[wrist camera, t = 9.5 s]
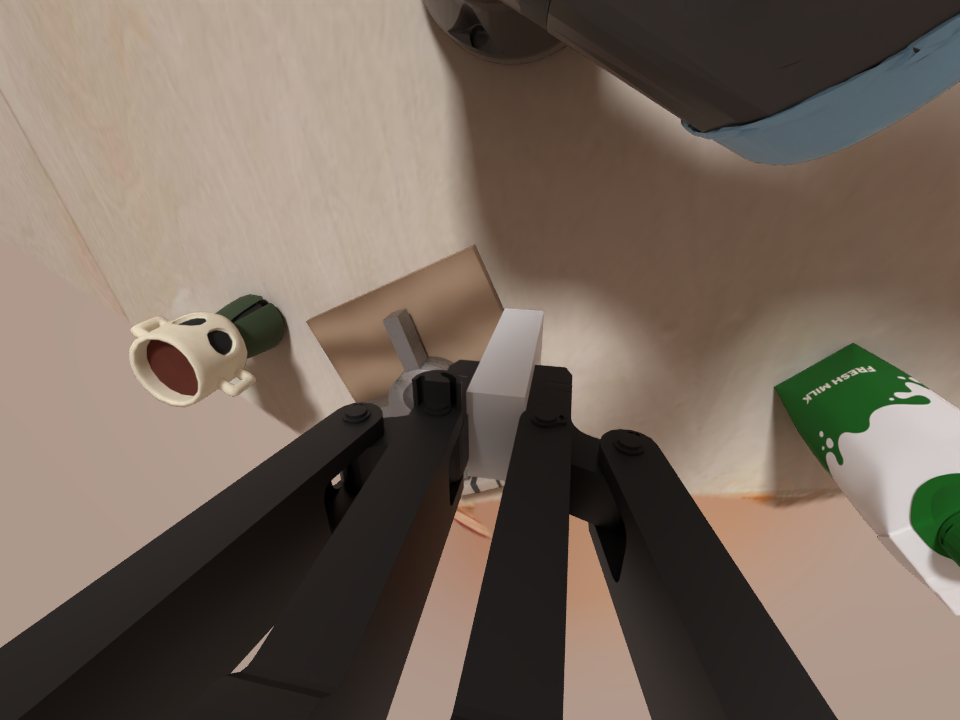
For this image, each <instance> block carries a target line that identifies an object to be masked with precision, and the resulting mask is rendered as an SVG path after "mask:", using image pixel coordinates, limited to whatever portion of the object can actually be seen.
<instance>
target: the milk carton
mask: <svg viewBox="0 0 960 720" xmlns="http://www.w3.org/2000/svg"><path fill="white" fill-rule="evenodd" d="M774 388H775V389H776V391H777V393H778V395H779V397H780V399H781V401H782V402H783V404H784V406H785V408H786V410H787V412H788V414H789V416H790V417H791V419H792V421H793V423H794V425H795V427H796V428H797V430H798V432H799V433H800V435H801V436H802V438H803V439H804V441H805V442H806V444H807V445H808V446H809V448H810V449H811V451H812V452H813V454H814V455H815V456H816V458H817V459H818V460H819V462H820V463H821V464H822V465H823V467H824V468H825V469H826V471H827V472H828V473H829V475H830V476H831V477H832V478H833V480H834V481H835V482H836V484H837V485H838V486H839V488H840V489H841V490H842V491H843V493H844V494H845V495H846V497H847V498H848V499H849V501H850V502H851V503H852V504H853V506H854V507H855V508H856V510H857V511H858V512H859V514H860V515H861V516H862V517H863V519H864V520H865V521H866V522H867V523H868V524H869V526H870V527H871V528H872V529H873V530H874V531H875V532H876V534H877V535H878V536H879V537H878V536H877V538H878V539H879V540H880V541H881V543H882V544H883V545H884V546H885V547H886V548H887V550H888V551H889V552H890V553H891V554H892V555H893V556H894V557H895V558H896V559H897V560H898V561H899V562H900V563H901V564H902V565H903V566H904V567H905V568H906V569H907V570H908V571H909V572H910V573H912V574H913V575H914V576H915V577H916V578H918V579H919V580H920V581H921V582H922V583H923V584H925V585H926V586H927V587H928V588H930V589H931V590H932V591H933V592H934V593H935V594H936V596H938V598H939V599H940V600H941V601H942V602H943V603H944V604H945V605H946V606H947V607H948V608H949V609H950V610H951V611H952V612H953V613H954V614H955V615H960V410H959V409H958V408H956V407H955V406H953V405H952V404H950V403H949V402H947V401H946V400H945V399H943V398H942V397H940V396H939V395H937V394H936V393H934V392H933V391H931V390H930V389H928V388H927V387H926V386H924V385H923V384H921V383H920V382H918V381H917V380H915V379H914V378H912V377H911V376H909V375H908V374H906V373H905V372H903V371H901V370H900V369H898V368H896V367H895V366H893V365H891V364H889V363H888V362H886V361H884V360H882V359H881V358H879V357H877V356H875V355H874V354H872V353H870V352H868V351H867V350H865V349H863V348H861V347H860V346H858V345H856V344H855V343H852V344H850V345H849V346H847V347H845V348H843V349H841V350H840V351H838V352H836V353H834V354H832V355H831V356H829V357H827V358H825V359H823V360H822V361H820V362H818V363H816V364H814V365H813V366H811V367H809V368H807V369H806V370H804V371H802V372H800V373H798V374H797V375H795V376H793V377H791V378H789V379H788V380H786V381H784V382H782V383H781V384H779V385H777V386H775V387H774Z"/></svg>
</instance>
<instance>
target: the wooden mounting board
mask: <svg viewBox="0 0 960 720" xmlns="http://www.w3.org/2000/svg"><path fill="white" fill-rule="evenodd" d="M405 308H406V309H407V311H408V313H409V316H410V318H411V321H412V323H413V325H414V328H415V330H416V332H417V335H418V337H419V339H420V342H421V344H422V347H423V349H424V351H425V354H426V356H436V357H441V358H445V359H447V360H449V361H452V362H453V363H455V362H457V361H458V360H471V361H481V359H482V357H483V354H484V352H485V350H486V348H487V346H488V344H489V342H490V339H491V337H492V335H493V333H494V331H495V329H496V326H497V324H498V322H499V320H500V318H501V316H502V314H503V311H504V308H503V306H502V304H501V301H500V299H499V297H498V295H497V293H496V290H495V288H494V286H493V284H492V281H491V279H490V277H489V275H488V273H487V270H486V268H485V266H484V264H483V261H482V259H481V257H480V255H479V253H478V250H477V248H476V246H475V245H473V246H471V247H468V248H466V249H464V250H462V251H460V252H457V253H455V254H453V255H451V256H448V257H446V258H444V259H442V260H439V261H437V262H435V263H433V264H431V265H428V266H426V267H424V268H422V269H419V270H417V271H415V272H413V273H411V274H408V275H406V276H404V277H402V278H399V279H397V280H395V281H393V282H390V283H388V284H386V285H384V286H382V287H379V288H377V289H375V290H373V291H370V292H368V293H366V294H364V295H362V296H359V297H357V298H355V299H353V300H350V301H348V302H346V303H344V304H341V305H339V306H337V307H335V308H333V309H330V310H328V311H326V312H324V313H321V314H319V315H317V316H315V317H313V318H311V319H309V320H308V321H306V322H307V324H308V326H309V327H310V329H311V330H312V332H313V334H314V335H315V337H316V339H317V340H318V342H319V343H320V345H321V347H322V348H323V350H324V351H325V353H326V355H327V356H328V358H329V360H330V361H331V363H332V364H333V366H334V368H335V369H336V371H337V373H338V374H339V376H340V377H341V379H342V381H343V382H344V384H345V385H346V387H347V389H348V390H349V392H350V394H351V395H352V397H353V398H354V400H355V402H356V403H358V402H359V403H360V402H366V401H371V400H375V399H380V398H384V397H388V396H389V392H390V389H391V387H392V385H393V384H394V382H395V381H396V380H397V378H398V377H399V376H400V375H401V373H402V372H403V371H404V368H403V366H402V364H401V361H400V359H399V357H398V355H397V352H396V350H395V348H394V346H393V344H392V341H391V339H390V337H389V335H388V332H387V330H386V328H385V326H384V323H383V320H384V319H385V318H386V317H387V316H388V315H389V314H391V313H392V312H395V311H398V310H401V309H405ZM504 485H505V481H502V480H495V479H487V478H480V477H473V476H468V477H467V478H465V479H464V489H463V492H462V495H467V494H471V493H479V492H481V491H485V490H489V489H493V488H498V487H499V488H500V487H503V486H504ZM462 495H461V496H462Z"/></svg>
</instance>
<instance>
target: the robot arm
mask: <svg viewBox="0 0 960 720" xmlns="http://www.w3.org/2000/svg"><path fill="white" fill-rule="evenodd" d="M423 2H424V4H425V6H426V8H427V9H428V11H429V13H430V14H431V16H432V17H433V19H434V20H435V21H436V23H437V24H438V25H439V26H440V28H441V29H442V30H443V31H444V32H445V33H446V34H447V35H448V36H449V37H450V38H451V39H453V40H454V41H455V42H456V43H457V44H458V45H459V46H461V47H462V48H463V49H465V50H466V51H468V52H470V53H471V54H473V55H475V56H477V57H479V58H482V59H484V60H487V61H490V62H495V63H500V64H522V63H528V62H532V61H536V60H539V59H542V58H544V57H547V56H549V55H551V54H553V53H555V52H557V51H558V50H560V49H561V48H563V47H565V46H566V45H568V46H570V47H571V48H573V49H574V50H576V51H577V52H579V53H580V54H582V55H583V56H585V57H586V58H588V59H589V60H591V61H593V62H594V63H596V64H597V65H599V66H600V67H602V68H603V69H605V70H606V71H608V72H609V73H611V74H612V75H614V76H616V77H617V78H619V79H620V80H622V81H623V82H625V83H626V84H628V85H629V86H631V87H632V88H634V89H635V90H637V91H639V92H640V93H642V94H643V95H645V96H646V97H648V98H649V99H651V100H652V101H654V102H655V103H657V104H658V105H660V106H662V107H663V108H665V109H666V110H668V111H669V112H671V113H672V114H674V115H675V116H677V117H678V118H680V119H681V124H682V125H683V127H684V128H685V129H686V130H687V131H688V132H690V133H691V134H693V135H695V136H698V137H699V136H700V137H703V138H706V139H712V140H714V141H716V142H717V143H719V144H721V145H722V146H724V147H726V148H728V149H729V150H731V151H733V152H734V153H736V154H738V155H740V156H741V157H743V158H745V159H747V160H749V161H752V162H755V163H764V164H770V165H792V164H797V163H802V162H807V161H810V160H814V159H817V158H821V157H824V156H826V155H829V154H832V153H835V152H837V151H840V150H842V149H845V148H847V147H849V146H851V145H854V144H856V143H858V142H860V141H862V140H864V139H866V138H868V137H870V136H872V135H874V134H876V133H877V132H879V131H881V130H883V129H885V128H887V127H888V126H890V125H892V124H894V123H896V122H897V121H899V120H901V119H902V118H904V117H906V116H908V115H909V114H911V113H913V112H914V111H916V110H917V109H919V108H921V107H922V106H924V105H925V104H927V103H928V102H930V101H931V100H933V99H934V98H936V97H938V96H939V95H941V94H942V93H944V92H945V91H947V90H948V89H950V88H951V87H952V86H954V85H955V84H957V83H958V82H960V0H423ZM543 317H544V311H540V310H524V309H509V308H505V309H504V311H503V314H502V316H501V318H500V320H499V322H498V324H497V326H496V329H495V331H494V333H493V335H492V337H491V339H490V342H489V344H488V346H487V348H486V350H485V352H484V354H483V357H482V359H481V361H471V360H458V361H457V362H455V363H453V364H452V365H450V366H449V368H448V370H447V371H446V370H430V371H425V372H422V373H420V374H417V375H416V376H415V377H414V378H412V388H413V401H414V407H413V408H412V410H411V411H410V413H409V415H405V416H398V417H386V418H383V411H382V410H381V408H380V407H379V406H377V405H375V404H372V403H365V402H360V403H359V402H358V403H353V404H350V405H346V406H344V407H342V408H340V409H338V410H336V411H335V412H333V413H332V414H331V415H329V416H328V417H326V418H325V419H324V420H322V421H321V422H319V423H318V424H316V425H315V426H314V427H312V428H311V429H309V430H308V431H307V432H305V433H304V434H302V435H301V436H299V437H298V438H297V439H295V440H294V441H293V442H291V443H290V444H288V445H287V446H285V447H284V448H283V449H281V450H280V451H278V452H277V453H275V454H274V455H273V456H271V457H270V458H268V459H267V460H266V461H264V462H263V463H261V464H260V465H259V466H257V467H256V468H254V469H253V470H252V471H250V472H249V473H247V474H246V475H244V476H243V477H241V478H240V479H239V480H237V481H236V482H234V483H233V484H232V485H230V486H229V487H227V488H226V489H225V490H223V491H222V492H220V493H219V494H218V495H216V496H215V497H213V498H212V499H210V500H209V501H208V502H206V503H205V504H203V505H202V506H200V507H199V508H198V509H196V510H195V511H193V512H192V513H191V514H189V515H188V516H186V517H185V518H184V519H182V520H181V521H179V522H178V523H176V524H175V525H174V526H172V527H171V528H169V529H168V530H166V531H165V532H164V533H162V534H161V535H160V536H158V537H157V538H155V539H154V540H152V541H151V542H150V543H148V544H147V545H145V546H144V547H142V548H141V549H140V550H138V551H137V552H136V553H134V554H133V555H131V556H130V557H129V558H127V559H125V560H124V561H123V562H121V563H120V564H118V565H117V566H116V567H115V568H113V569H111V570H110V571H109V572H107V573H106V574H104V575H103V576H101V577H100V578H99V579H97V580H96V581H94V582H93V583H91V584H90V585H89V586H87V587H86V588H84V589H83V590H82V591H80V592H79V593H77V594H76V595H75V596H73V597H72V598H70V599H69V600H67V601H66V602H65V603H63V604H62V605H60V606H59V607H58V608H56V609H55V610H53V611H52V612H50V613H49V614H48V615H46V616H45V617H43V618H42V619H41V620H39V621H38V622H36V623H35V624H34V625H32V626H31V627H29V628H28V629H26V630H25V631H24V632H22V633H21V634H19V635H18V636H17V637H15V638H14V639H12V640H11V641H10V642H8V643H7V644H5V645H4V646H3V647H1V648H0V720H386V718H387V715H388V712H389V709H390V706H391V703H392V700H393V698H394V694H395V692H396V688H397V685H398V683H399V680H400V677H401V674H402V671H403V668H404V664H405V662H406V659H407V656H408V653H409V650H410V647H411V644H412V641H413V638H414V635H415V632H416V629H417V626H418V623H419V620H420V617H421V614H422V611H423V608H424V605H425V602H426V599H427V596H428V593H429V590H430V587H431V584H432V581H433V578H434V575H435V572H436V569H437V566H438V563H439V560H440V557H441V554H442V551H443V549H444V545H445V542H446V539H447V536H448V533H449V531H450V528H451V524H452V522H453V519H454V516H455V513H456V510H457V507H458V504H459V501H460V498H461V495H462V492H463V489H464V471H465V468H466V465H467V462H468V476H473V477H480V478H487V479H495V480H502V481H505V485H504V489H503V493H502V498H501V502H500V507H499V511H498V516H497V520H496V524H495V529H494V533H493V538H492V542H491V547H490V551H489V555H488V560H487V564H486V569H485V573H484V577H483V582H482V586H481V591H480V595H479V599H478V604H477V608H476V613H475V617H474V622H473V626H472V630H471V635H470V639H469V644H468V648H467V652H466V657H465V661H464V666H463V671H462V675H461V679H460V683H459V688H458V692H457V697H456V701H455V705H454V709H453V713H452V716H451V719H450V720H563V694H564V663H565V630H566V600H567V599H566V598H567V568H568V536H569V514H570V515H573V516H575V517H577V518H580V519H582V520H585V521H587V522H588V524H589V532H590V535H591V537H592V540H593V543H594V546H595V550H596V553H597V556H598V559H599V562H600V565H601V567H602V571H603V574H604V577H605V580H606V583H607V586H608V589H609V592H610V595H611V598H612V601H613V604H614V607H615V610H616V613H617V616H618V619H619V622H620V625H621V628H622V631H623V634H624V637H625V640H626V643H627V646H628V649H629V652H630V655H631V658H632V661H633V664H634V667H635V670H636V673H637V676H638V679H639V682H640V686H641V689H642V692H643V694H644V697H645V700H646V704H647V706H648V710H649V713H650V715H651V719H652V720H838V719H837V718H836V716H835V715H834V713H833V712H832V710H831V709H830V707H829V705H828V704H827V702H826V701H825V699H824V698H823V696H822V695H821V693H820V692H819V690H818V689H817V687H816V686H815V684H814V683H813V681H812V680H811V678H810V676H809V675H808V673H807V672H806V670H805V669H804V667H803V666H802V665H801V663H800V661H799V660H798V658H797V657H796V655H795V654H794V652H793V651H792V649H791V648H790V646H789V645H788V643H787V642H786V640H785V639H784V637H783V635H782V634H781V632H780V631H779V629H778V628H777V626H776V625H775V623H774V622H773V620H772V619H771V617H770V616H769V614H768V613H767V611H766V610H765V608H764V606H763V605H762V603H761V602H760V601H759V599H758V597H757V596H756V594H755V593H754V591H753V590H752V588H751V587H750V585H749V584H748V582H747V581H746V579H745V578H744V576H743V575H742V573H741V571H740V570H739V568H738V567H737V565H736V564H735V562H734V561H733V560H732V558H731V556H730V555H729V553H728V552H727V550H726V549H725V547H724V546H723V544H722V543H721V541H720V539H719V538H718V536H717V535H716V534H715V532H714V530H713V529H712V527H711V526H710V524H709V523H708V521H707V520H706V518H705V517H704V515H703V514H702V512H701V511H700V509H699V508H698V506H697V504H696V503H695V501H694V500H693V498H692V497H691V495H690V494H689V492H688V491H687V489H686V488H685V486H684V485H683V483H682V482H681V480H680V479H679V477H678V476H677V474H676V472H675V471H674V469H673V468H672V466H671V465H670V463H669V462H668V460H667V459H666V457H665V456H664V454H663V453H662V451H661V450H660V448H659V447H658V445H657V444H656V443H655V442H654V441H653V440H652V439H651V438H649V437H647V436H646V435H644V434H642V433H639V432H635V431H632V430H623V429H618V430H611V431H609V432H607V433H605V434H603V436H602V437H601V439H597V438H594V437H591V436H589V435H586V434H584V433H583V432H581V431H579V430H578V429H577V428H576V427H575V426H574V424H573V423H572V420H571V400H572V375H571V373H570V372H569V371H568V370H567V368H565V367H554V366H542V365H541V349H542V333H543ZM339 473H340V476H341V480H340V481H339V482H338V483H337V484H335V485H334V486H333V485H332V482H331V480H332V479H333V478H334V477H336V476H337V475H338V474H339ZM273 626H274V627H273ZM272 627H273V629H272V630H271V632H270V633H269V635H268V636H267V638H266V640H265V641H264V643H263V644H262V646H261V648H260V649H259V651H258V652H257V654H256V655H255V657H254V658H253V660H252V661H251V662H250V663H249V665H248V666H247V667H246V668H245V669H243V670H242V671H241V672H237V673H232V674H230V673H231V672H232V671H233V670H234V669H235V668H236V667H237V666H238V664H239V663H240V662H241V661H242V660H243V659H244V658H245V657H246V656H247V655H248V653H249V652H250V651H251V650H252V649H253V648H254V647H255V646H256V645H257V644H258V643H259V641H260V640H261V639H262V638H263V637H264V636H265V635H266V634H267V633H268V632H269V630H270V629H271V628H272Z"/></svg>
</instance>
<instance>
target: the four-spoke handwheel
mask: <svg viewBox="0 0 960 720" xmlns="http://www.w3.org/2000/svg"><path fill="white" fill-rule="evenodd" d="M383 323H384V326H385V328H386V330H387V332H388V335H389V337H390V339H391V341H392V344H393V346H394V348H395V350H396V352H397V355H398V357H399V359H400V361H401V364H402V366H403V368H404V371H403V372H402V373H401V375H400V376H399V377H398V378H397V380H396V381H395V382H394V384H393V385H392V387H391V389H390V392H389V396H388V397H384V398H380V399H375V400H371V401H366V402H365V403H372V404H375V405H377V406H379V407H380V408H381V410H382V411H383V418H386V417H398V416H405V415H409V413H410V411H411V410H412V408H413V407H414V401H413V388H412V378H414V377H415V376H416V375H417V374H420V373H422V372H425V371H430V370H446V371H447V370H448V368H449V366H450V365H452V364H453V362H452V361H449V360H447V359H445V358H441V357H436V356H426V354H425V351H424V349H423V347H422V344H421V342H420V339H419V337H418V335H417V332H416V330H415V328H414V325H413V323H412V321H411V318H410V316H409V313H408V311H407V309H406V308H405V309H401V310H398V311H395V312H392V313H391V314H389V315H388V316H387V317H386V318H385V319H384V320H383ZM467 477H468V462H467V465H466V468H465V471H464V479H465V478H467Z"/></svg>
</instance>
